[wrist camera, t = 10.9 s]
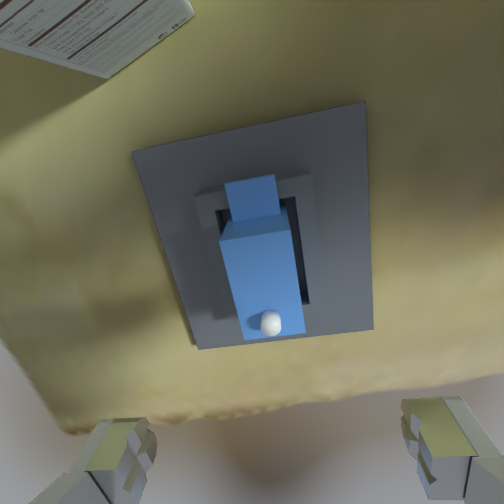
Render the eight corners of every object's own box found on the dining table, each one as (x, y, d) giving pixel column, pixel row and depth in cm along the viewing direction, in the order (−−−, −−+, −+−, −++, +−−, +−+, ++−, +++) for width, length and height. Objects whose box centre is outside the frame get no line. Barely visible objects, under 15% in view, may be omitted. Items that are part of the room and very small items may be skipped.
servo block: (279, 168, 20) (284, 186, 13) (301, 310, 24) (312, 374, 18) (224, 179, 20) (203, 201, 14) (255, 316, 25) (250, 380, 18)
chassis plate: (360, 102, 19) (375, 98, 16) (370, 322, 26) (381, 344, 23) (136, 150, 21) (117, 153, 18) (200, 342, 28) (193, 365, 25)
